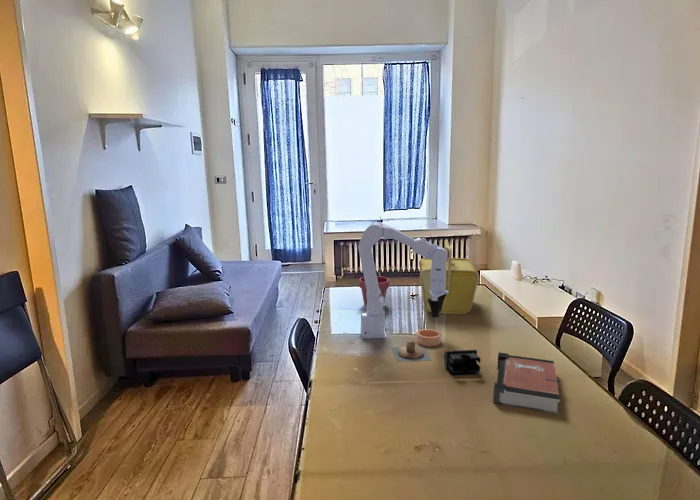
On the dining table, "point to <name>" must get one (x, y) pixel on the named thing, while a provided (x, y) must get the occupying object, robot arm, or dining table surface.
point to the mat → (399, 358)
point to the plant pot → (382, 283)
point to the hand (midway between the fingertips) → (436, 314)
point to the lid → (410, 351)
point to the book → (527, 383)
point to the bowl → (428, 337)
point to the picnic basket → (452, 283)
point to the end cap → (462, 362)
